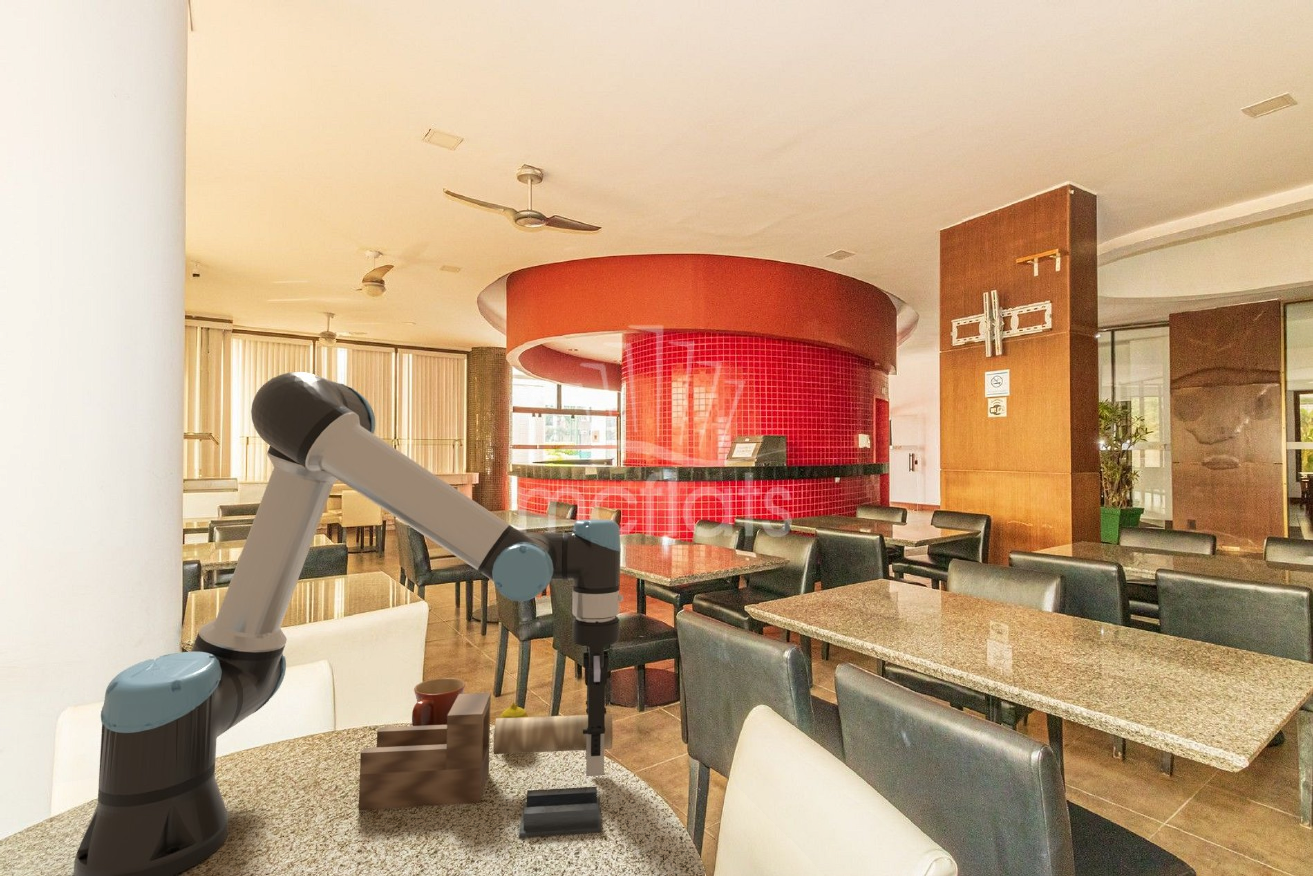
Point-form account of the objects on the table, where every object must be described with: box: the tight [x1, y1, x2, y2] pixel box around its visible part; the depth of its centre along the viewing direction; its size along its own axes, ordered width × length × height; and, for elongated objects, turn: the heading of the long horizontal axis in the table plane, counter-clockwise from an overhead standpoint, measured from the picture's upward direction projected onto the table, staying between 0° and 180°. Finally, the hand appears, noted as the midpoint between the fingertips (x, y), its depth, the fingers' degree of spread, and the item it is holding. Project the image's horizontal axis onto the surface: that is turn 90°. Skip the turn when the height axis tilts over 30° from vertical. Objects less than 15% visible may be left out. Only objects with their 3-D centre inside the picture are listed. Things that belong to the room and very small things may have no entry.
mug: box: [411, 677, 466, 726], centre depth 108 cm, size 12×9×10 cm
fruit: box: [499, 702, 529, 718], centre depth 108 cm, size 6×6×8 cm
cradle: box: [518, 786, 603, 839], centre depth 86 cm, size 11×8×3 cm
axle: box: [493, 713, 614, 755], centre depth 96 cm, size 18×5×5 cm, turn 98°
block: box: [358, 692, 492, 811], centre depth 94 cm, size 17×9×13 cm, turn 97°
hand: (594, 765), depth 97 cm, fingers closed on axle, 5 cm apart
